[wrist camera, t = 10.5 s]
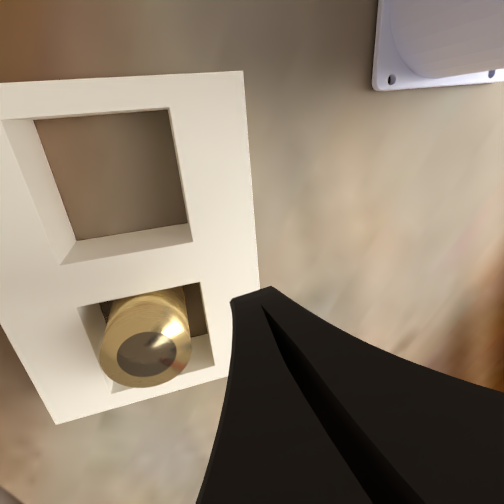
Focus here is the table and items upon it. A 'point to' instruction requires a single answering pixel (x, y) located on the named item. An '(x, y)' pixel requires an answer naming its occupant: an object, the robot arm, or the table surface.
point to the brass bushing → (146, 338)
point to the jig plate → (122, 245)
